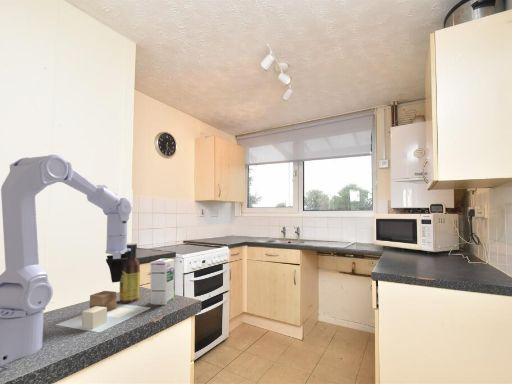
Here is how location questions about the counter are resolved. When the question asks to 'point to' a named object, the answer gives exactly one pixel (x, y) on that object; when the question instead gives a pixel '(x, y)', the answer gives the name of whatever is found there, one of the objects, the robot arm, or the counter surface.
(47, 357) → the counter surface
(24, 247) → the robot arm
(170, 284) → the syrup box
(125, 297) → the sauce bottle
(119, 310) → the board
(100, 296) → the walnut block
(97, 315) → the cream block
